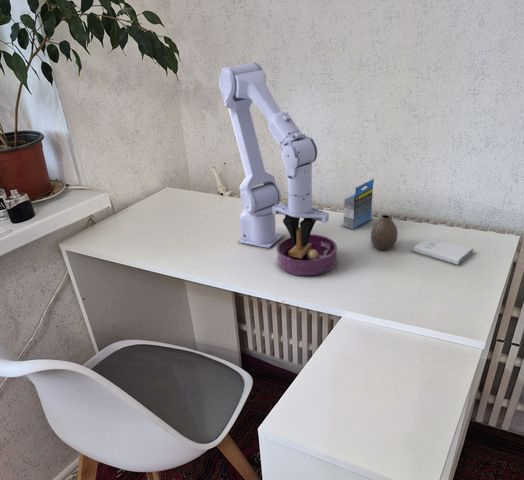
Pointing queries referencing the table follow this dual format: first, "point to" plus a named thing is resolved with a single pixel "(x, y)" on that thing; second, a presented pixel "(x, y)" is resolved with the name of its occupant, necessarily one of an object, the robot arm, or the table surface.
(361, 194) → the tape cartridge
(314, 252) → the dough ball
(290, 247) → the bowl
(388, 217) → the vase
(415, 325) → the table surface
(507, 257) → the table surface
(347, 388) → the table surface
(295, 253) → the brush
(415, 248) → the hard drive
